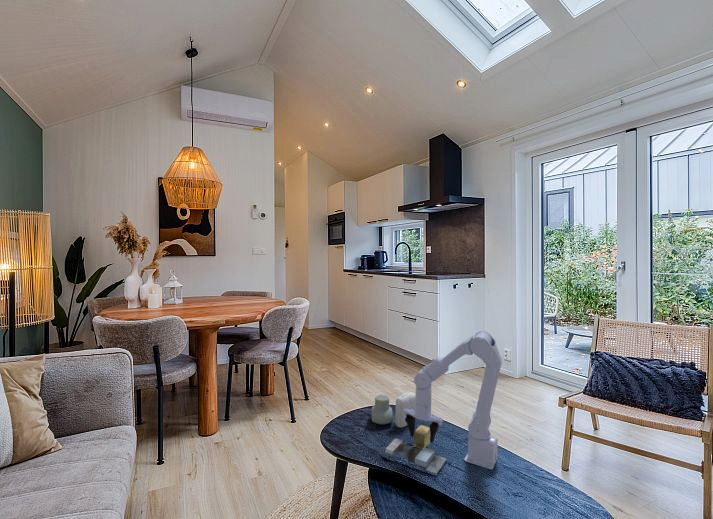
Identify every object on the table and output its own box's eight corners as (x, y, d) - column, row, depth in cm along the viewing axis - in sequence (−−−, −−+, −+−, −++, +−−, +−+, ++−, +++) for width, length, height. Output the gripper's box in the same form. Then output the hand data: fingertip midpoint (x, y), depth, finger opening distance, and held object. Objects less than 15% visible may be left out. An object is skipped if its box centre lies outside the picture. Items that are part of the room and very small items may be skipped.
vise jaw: (434, 455, 137) (434, 450, 137) (426, 467, 130) (426, 461, 130) (423, 452, 139) (423, 446, 139) (414, 463, 132) (414, 458, 132)
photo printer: (409, 417, 167) (410, 388, 166) (417, 420, 164) (418, 391, 163) (393, 425, 160) (394, 395, 159) (401, 429, 157) (402, 399, 156)
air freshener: (371, 414, 169) (371, 392, 168) (390, 415, 169) (391, 392, 168) (372, 427, 158) (372, 403, 157) (392, 428, 158) (393, 403, 157)
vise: (446, 461, 136) (446, 452, 136) (436, 476, 127) (436, 467, 127) (394, 444, 146) (394, 436, 146) (381, 457, 138) (381, 449, 137)
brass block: (430, 443, 147) (430, 427, 147) (424, 450, 142) (424, 434, 142) (420, 440, 149) (420, 424, 149) (413, 447, 144) (414, 431, 144)
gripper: (446, 403, 144) (444, 439, 145) (409, 394, 152) (408, 428, 153) (439, 410, 138) (438, 448, 139) (401, 400, 146) (400, 436, 147)
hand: (422, 438), depth 146 cm, fingers open, 7 cm apart
